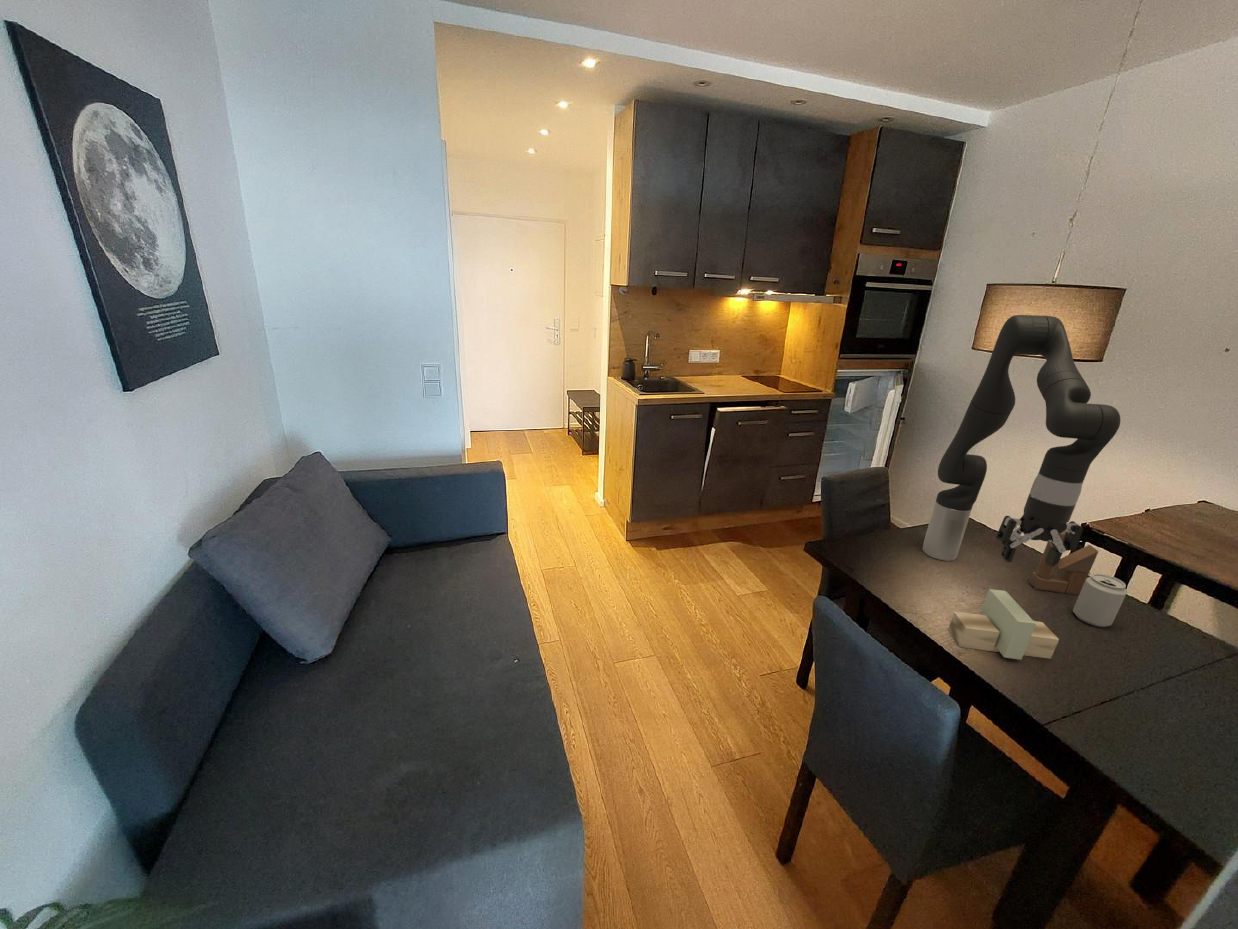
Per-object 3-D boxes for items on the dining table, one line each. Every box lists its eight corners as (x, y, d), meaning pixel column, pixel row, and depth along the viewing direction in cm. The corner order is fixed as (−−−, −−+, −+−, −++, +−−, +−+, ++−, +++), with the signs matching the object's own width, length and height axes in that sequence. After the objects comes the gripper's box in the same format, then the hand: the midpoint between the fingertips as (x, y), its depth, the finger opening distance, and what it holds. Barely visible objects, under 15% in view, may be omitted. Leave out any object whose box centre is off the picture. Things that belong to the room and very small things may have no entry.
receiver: (948, 629, 118) (954, 611, 116) (1034, 640, 115) (1042, 622, 113) (959, 647, 112) (966, 628, 110) (1050, 658, 109) (1059, 639, 107)
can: (1071, 619, 122) (1088, 579, 118) (1071, 606, 128) (1088, 567, 123) (1111, 633, 118) (1131, 592, 113) (1110, 619, 123) (1129, 579, 118)
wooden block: (1079, 595, 132) (1104, 538, 125) (1035, 589, 134) (1057, 533, 128) (1071, 588, 135) (1095, 532, 129) (1027, 582, 138) (1049, 527, 131)
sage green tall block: (977, 622, 119) (989, 589, 115) (993, 624, 118) (1005, 590, 115) (1004, 657, 108) (1018, 621, 104) (1021, 659, 107) (1036, 623, 104)
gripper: (1079, 492, 102) (1052, 557, 108) (1005, 486, 105) (983, 550, 111) (1105, 507, 96) (1075, 576, 102) (1025, 501, 98) (1001, 568, 104)
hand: (1027, 562), depth 106 cm, fingers open, 8 cm apart
